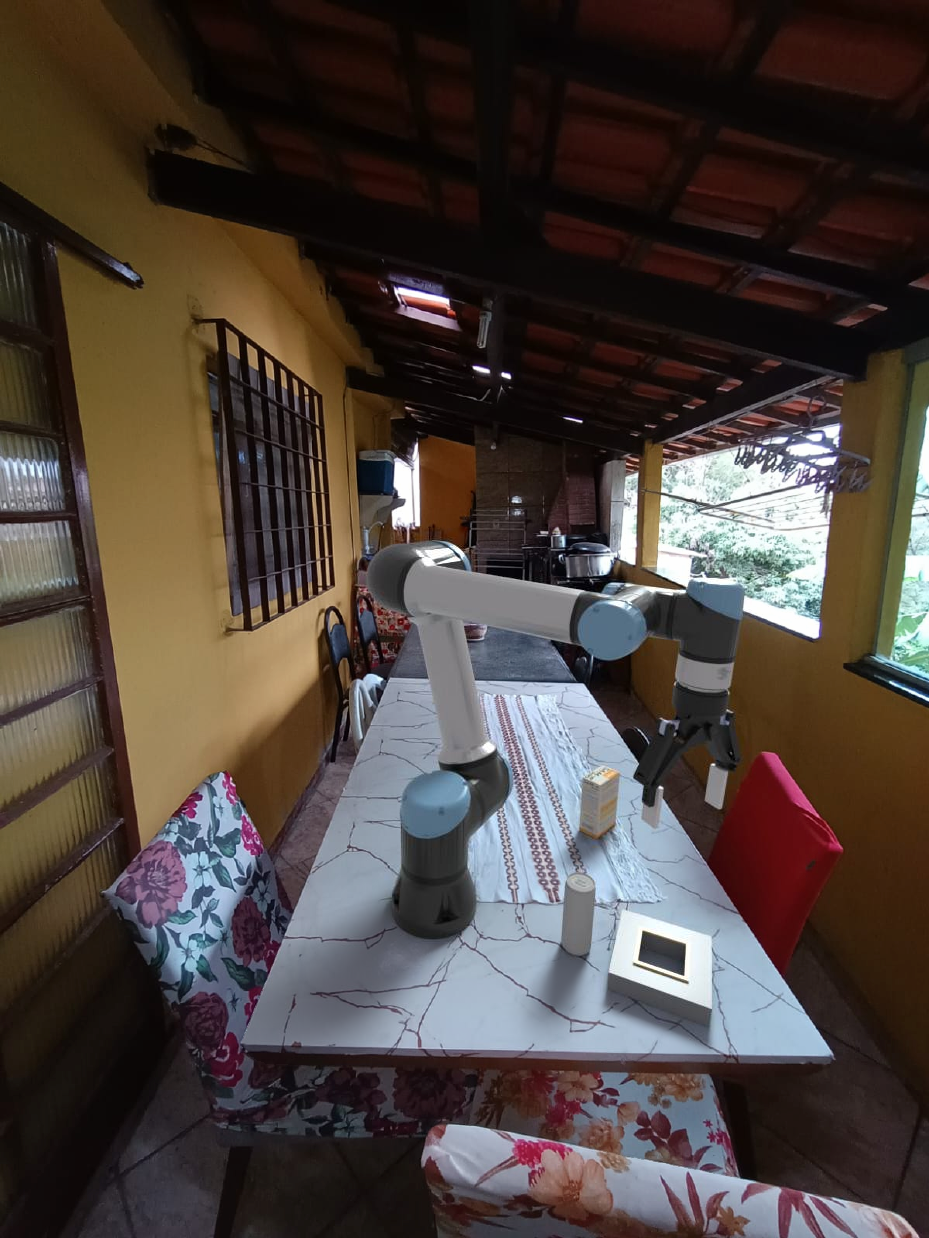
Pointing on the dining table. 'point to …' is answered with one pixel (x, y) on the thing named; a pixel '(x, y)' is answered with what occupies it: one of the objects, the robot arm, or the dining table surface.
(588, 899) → the beverage can
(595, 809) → the supplement box
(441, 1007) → the dining table surface
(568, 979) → the dining table surface
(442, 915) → the robot arm
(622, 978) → the socket plate
